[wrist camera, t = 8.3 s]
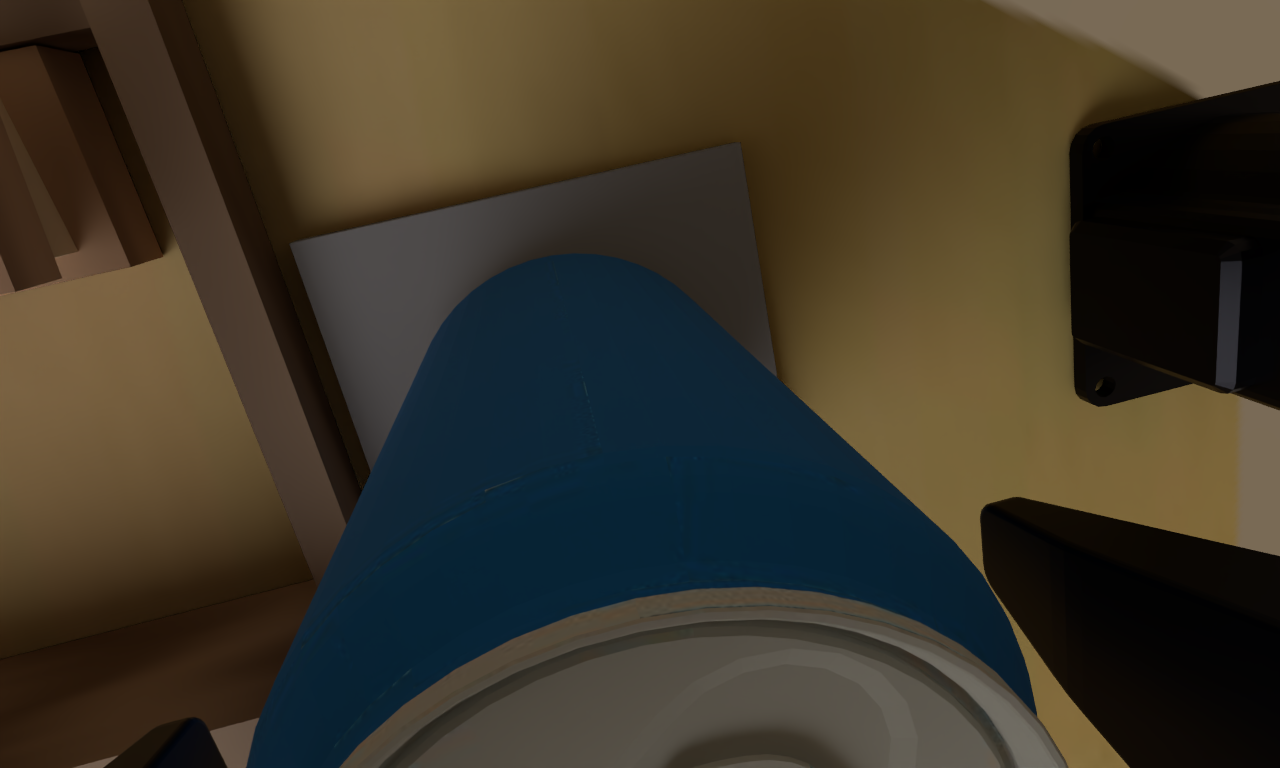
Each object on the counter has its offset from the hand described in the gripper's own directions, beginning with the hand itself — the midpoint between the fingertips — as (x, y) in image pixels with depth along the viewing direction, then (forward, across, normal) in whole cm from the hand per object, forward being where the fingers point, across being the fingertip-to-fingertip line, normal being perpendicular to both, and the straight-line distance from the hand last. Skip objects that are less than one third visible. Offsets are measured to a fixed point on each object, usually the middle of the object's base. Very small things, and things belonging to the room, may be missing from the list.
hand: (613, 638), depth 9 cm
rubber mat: (+9, 0, 0) cm, 9 cm away
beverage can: (+8, 0, 0) cm, 8 cm away
